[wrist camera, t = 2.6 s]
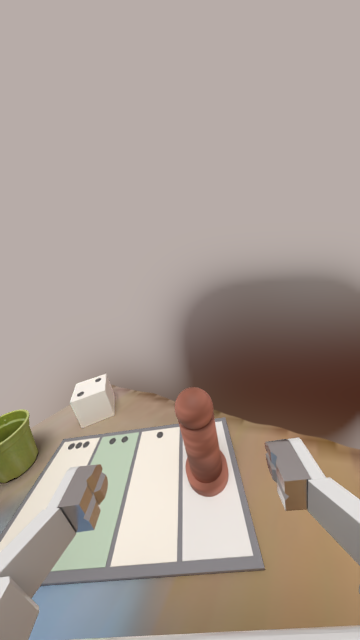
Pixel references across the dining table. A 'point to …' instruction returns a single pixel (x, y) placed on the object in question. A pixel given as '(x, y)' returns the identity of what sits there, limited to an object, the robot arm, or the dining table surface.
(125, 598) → the dining table surface
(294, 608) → the dining table surface
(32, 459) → the plant pot
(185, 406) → the pawn
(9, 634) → the robot arm
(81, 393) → the die
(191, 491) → the game board
